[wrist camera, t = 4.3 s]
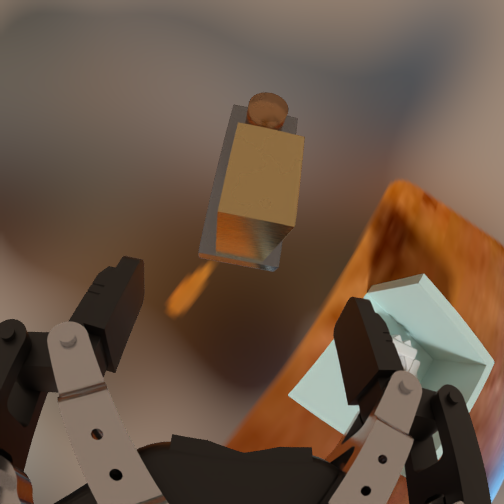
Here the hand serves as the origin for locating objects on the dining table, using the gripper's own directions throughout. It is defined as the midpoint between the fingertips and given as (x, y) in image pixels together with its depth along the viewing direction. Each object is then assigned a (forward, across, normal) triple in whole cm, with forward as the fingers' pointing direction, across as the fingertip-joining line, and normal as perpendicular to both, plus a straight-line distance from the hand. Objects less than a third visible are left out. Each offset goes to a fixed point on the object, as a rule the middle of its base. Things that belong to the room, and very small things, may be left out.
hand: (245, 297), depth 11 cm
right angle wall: (+6, -14, +12) cm, 19 cm away
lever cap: (+12, 0, +3) cm, 12 cm away
